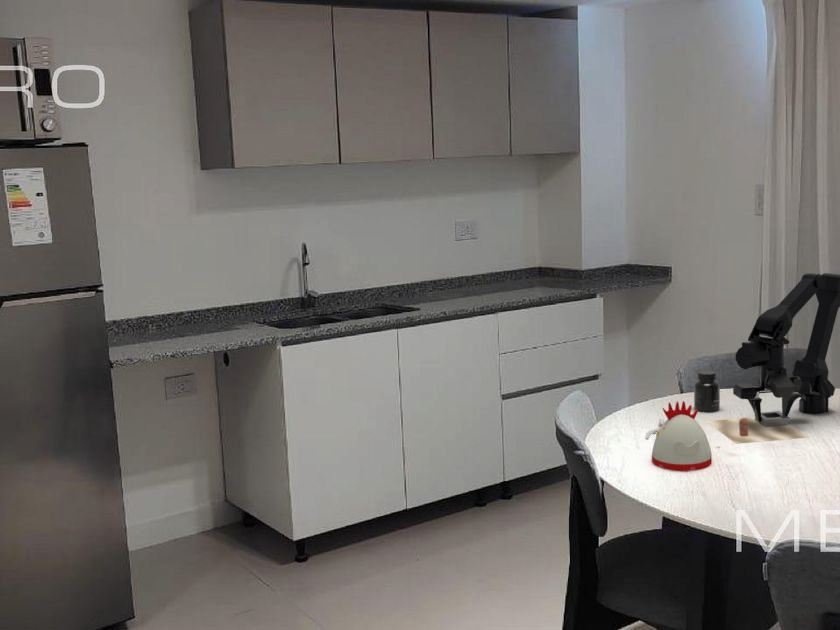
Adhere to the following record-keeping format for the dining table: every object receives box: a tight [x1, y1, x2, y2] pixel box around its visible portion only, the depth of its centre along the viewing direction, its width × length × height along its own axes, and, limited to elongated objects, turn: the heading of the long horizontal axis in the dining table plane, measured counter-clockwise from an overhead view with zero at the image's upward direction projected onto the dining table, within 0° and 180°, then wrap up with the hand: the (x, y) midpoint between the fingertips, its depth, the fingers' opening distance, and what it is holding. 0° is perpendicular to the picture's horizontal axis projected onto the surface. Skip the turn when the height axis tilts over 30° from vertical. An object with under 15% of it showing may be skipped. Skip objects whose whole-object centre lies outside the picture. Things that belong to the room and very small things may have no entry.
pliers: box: [644, 418, 665, 440], centre depth 254 cm, size 10×2×15 cm
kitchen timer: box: [651, 400, 712, 472], centre depth 229 cm, size 14×14×15 cm
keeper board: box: [705, 416, 810, 444], centre depth 246 cm, size 19×20×6 cm
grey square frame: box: [754, 410, 791, 427], centre depth 250 cm, size 6×6×2 cm
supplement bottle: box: [693, 370, 721, 414], centre depth 266 cm, size 7×7×12 cm
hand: (771, 420), depth 250 cm, fingers closed on grey square frame, 6 cm apart
